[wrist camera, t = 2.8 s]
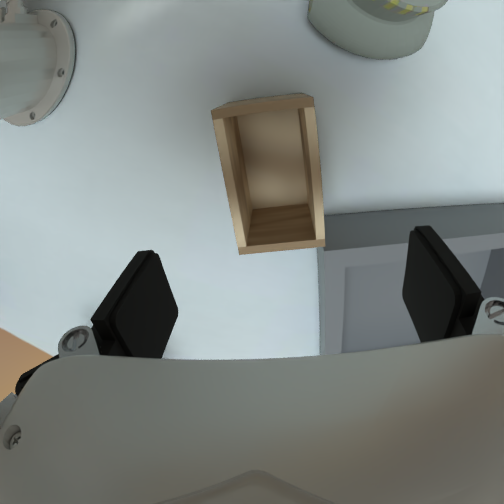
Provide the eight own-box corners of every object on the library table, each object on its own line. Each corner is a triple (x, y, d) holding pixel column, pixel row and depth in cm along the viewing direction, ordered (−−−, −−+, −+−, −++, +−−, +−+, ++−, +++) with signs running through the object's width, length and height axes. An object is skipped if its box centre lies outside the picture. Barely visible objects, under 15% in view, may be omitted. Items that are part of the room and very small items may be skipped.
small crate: (227, 102, 23) (210, 110, 17) (302, 93, 22) (313, 97, 16) (247, 213, 28) (239, 254, 22) (314, 206, 27) (325, 246, 21)
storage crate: (315, 216, 27) (324, 251, 22) (504, 203, 24) (536, 229, 19) (319, 359, 38) (323, 397, 32) (466, 334, 35) (482, 365, 29)
